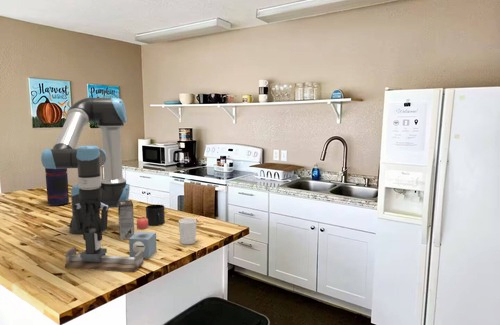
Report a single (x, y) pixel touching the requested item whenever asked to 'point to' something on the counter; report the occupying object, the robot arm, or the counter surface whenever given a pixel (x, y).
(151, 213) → the mug
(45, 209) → the counter surface
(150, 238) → the pale blue block
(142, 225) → the plunger
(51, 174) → the striped navy bottle
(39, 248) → the counter surface
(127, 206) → the coffee box
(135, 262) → the rail
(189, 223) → the white cup
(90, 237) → the carriage
